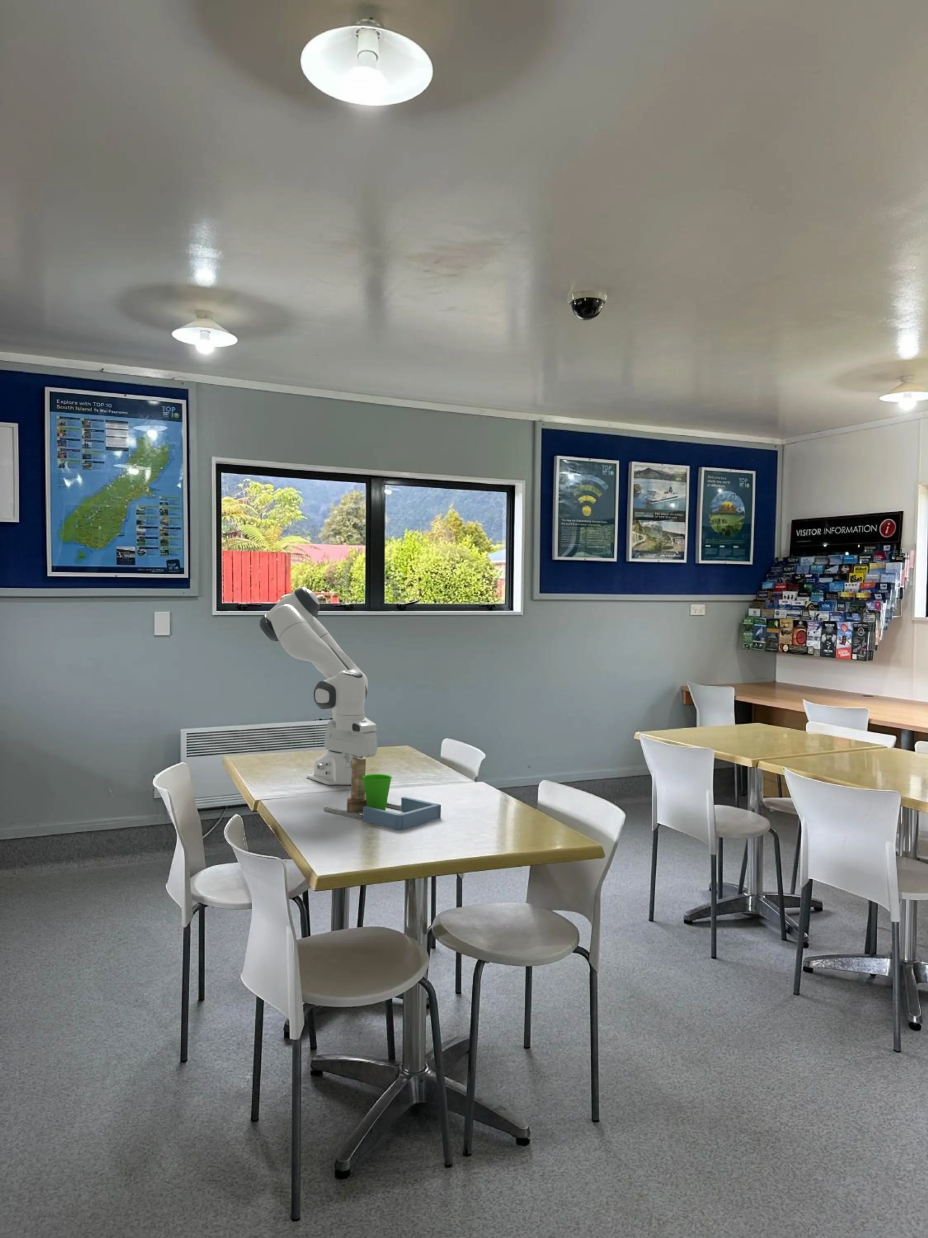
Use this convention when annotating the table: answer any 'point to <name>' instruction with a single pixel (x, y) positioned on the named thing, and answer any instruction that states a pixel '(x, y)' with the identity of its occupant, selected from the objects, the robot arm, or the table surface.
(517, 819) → the table surface
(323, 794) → the table surface
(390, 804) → the track
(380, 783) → the cup
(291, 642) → the robot arm
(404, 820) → the bay
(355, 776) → the stepped wooden block
